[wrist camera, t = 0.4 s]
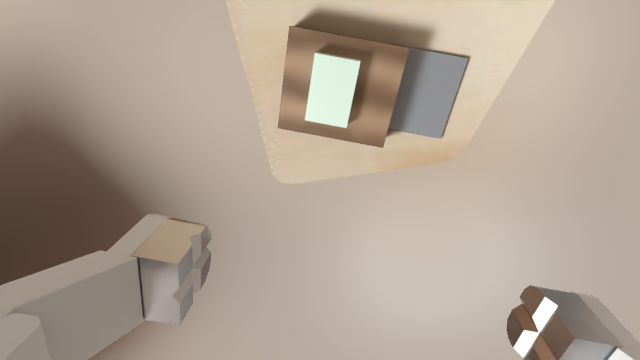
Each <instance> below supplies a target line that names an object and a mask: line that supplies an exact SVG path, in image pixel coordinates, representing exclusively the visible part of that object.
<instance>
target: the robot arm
mask: <svg viewBox="0 0 640 360" xmlns="http://www.w3.org/2000/svg"><path fill="white" fill-rule="evenodd" d="M210 240H211V227H210V226H209V225H206V224H201V223H196V222H191V221H187V220H182V219H177V218H172V217H171V218H170V217H167V216H162V215H156V214H149V215H146V216H145V217H144V218H143V219H142V220H141V221H140V222H139V223H138V224H136V225H135V226H134V227H133V228H132V229H131V230H130V231H129V232H128V233H127V234H126V235H124V236H123V237H122V238H121V239H120V240H119V241H118V242H117V243H116V244H115V245H113V247H111V248H110V249H109V250H108V251H107V252H105V251H98V252H95V253H92V254H89V255H87V256H83V257H81V258H78V259H75V260H72V261H69V262H66V263H64V264H61V265H58V266H55V267H52V268H49V269H46V270H43V271H41V272H38V273H35V274H32V275H29V276H26V277H24V278H21V279H18V280H15V281H12V282H9V283H7V284H4V285H1V286H0V360H87V359H89V358H90V357H92V356H93V355H95V354H96V353H98V352H99V351H101V350H102V349H104V348H105V347H107V346H108V345H110V344H111V343H113V342H114V341H115V340H117V339H118V338H120V337H121V336H123V335H124V334H126V333H127V332H129V331H130V330H132V329H133V328H135V327H136V326H138V325H139V324H141V323H142V322H143V319H144V320H151V321H157V322H163V323H169V324H175V325H181V323H182V321H183V319H184V318H185V316H186V314H187V312H188V311H189V309H190V307H191V306H192V304H193V293H195V292H197V291H199V290H201V288H202V286H203V284H204V283H205V281H206V278H207V275H208V272H209V268H210V262H211V252H210V251H209V250H208V248H207V245H208V243H209V242H210ZM520 299H521V302H522V304H521V305H519V306H517V307H516V308H514V309H512V311H511V313H510V315H509V317H508V319H507V334H508V338H509V341H510V343H511V345H512V347H513V348H514V349H515V350H516V351H517V352H518V353H519V354H520V355H521V356H522V357H523V360H640V343H639V342H638V341H637V340H636V339H635V338H634V337H633V336H632V334H631V333H630V332H629V331H628V330H627V329H626V328H625V327H624V326H623V325H622V324H621V322H620V321H619V320H618V319H617V318H616V317H615V316H614V315H613V314H612V313H611V312H610V310H609V309H608V308H607V307H606V306H605V305H604V304H603V303H602V302H601V301H600V300H599V299H598V298H596V297H594V296H592V295H587V294H581V293H575V292H564V291H559V290H553V289H548V288H542V287H537V286H531V285H530V286H528V287H527V288H525V289H524V291H523V292H522V294H521V295H520Z"/></svg>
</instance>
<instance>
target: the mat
mask: <svg viewBox="0 0 640 360" xmlns="http://www.w3.org/2000/svg"><path fill="white" fill-rule="evenodd" d="M408 48H409V52H408V56H407V59H406V63H405V67H404V71H403V74H402V78H401V82H400V86H399V89H398V93H397V97H396V101H395V104H394V108H393V112H392V116H391V119H390V123H389V127H388V129H391V130H397V131H402V132H407V133H413V134H418V135H424V136H429V137H434V138H440V139H441V136H442V133H443V130H444V128H445V125H446V122H447V119H448V116H449V113H450V110H451V107H452V104H453V101H454V99H455V96H456V93H457V90H458V87H459V84H460V81H461V78H462V75H463V72H464V70H465V67H466V64H467V61H468V58H464V57H458V56H453V55H447V54H442V53H437V52H431V51H426V50H421V49H415V48H410V47H408Z"/></svg>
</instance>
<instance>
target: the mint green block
mask: <svg viewBox="0 0 640 360" xmlns="http://www.w3.org/2000/svg"><path fill="white" fill-rule="evenodd" d="M360 62H361V61H360V60H358V59H352V58H347V57H341V56H336V55H331V54H325V53H320V52H315V55H314V62H313V68H312V75H311V82H310V88H309V95H308V102H307V109H306V115H305V120H306V121H311V122H316V123H322V124H327V125H332V126H338V127H343V128H347V124H348V119H349V114H350V110H351V105H352V100H353V95H354V91H355V86H356V81H357V76H358V71H359V67H360Z"/></svg>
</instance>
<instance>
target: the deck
mask: <svg viewBox="0 0 640 360" xmlns="http://www.w3.org/2000/svg"><path fill="white" fill-rule="evenodd" d="M315 52H320V53H325V54H331V55H336V56H341V57H347V58H352V59H358V60H360V61H361V62H360V67H359V71H358V76H357V81H356V86H355V91H354V95H353V100H352V105H351V110H350V114H349V119H348V124H347V128H343V127H338V126H332V125H327V124H322V123H316V122H311V121H306V120H305V115H306V109H307V102H308V95H309V88H310V82H311V75H312V68H313V62H314V55H315ZM408 52H409V48H407V47H404V46H399V45H394V44H388V43H383V42H377V41H372V40H367V39H361V38H356V37H350V36H345V35H340V34H334V33H329V32H324V31H318V30H313V29H307V28H302V27H297V26H289V34H288V42H287V51H286V60H285V69H284V78H283V86H282V95H281V104H280V113H279V122H278V128H280V129H286V130H291V131H296V132H302V133H307V134H312V135H318V136H323V137H328V138H334V139H339V140H344V141H350V142H355V143H360V144H366V145H371V146H376V147H382V148H383V146H384V142H385V138H386V134H387V131H388V127H389V123H390V119H391V116H392V112H393V108H394V104H395V101H396V97H397V93H398V89H399V86H400V82H401V78H402V74H403V71H404V67H405V63H406V59H407V56H408Z"/></svg>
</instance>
